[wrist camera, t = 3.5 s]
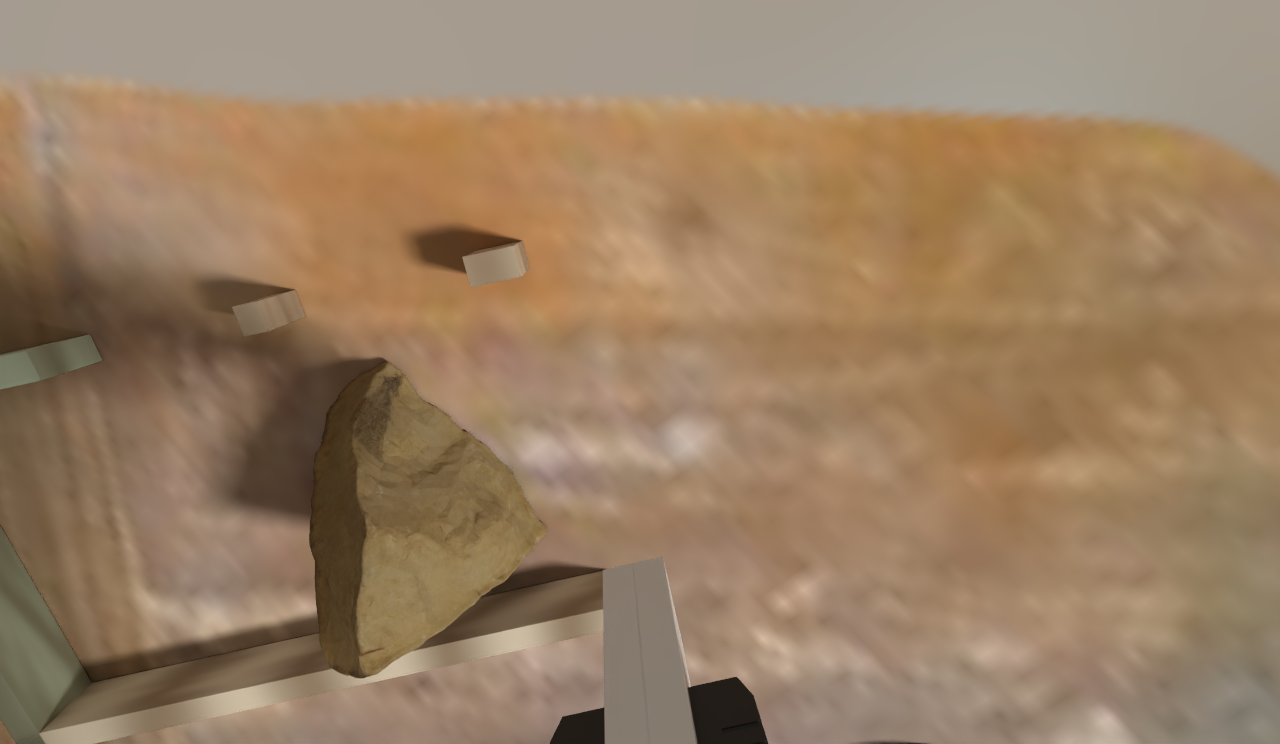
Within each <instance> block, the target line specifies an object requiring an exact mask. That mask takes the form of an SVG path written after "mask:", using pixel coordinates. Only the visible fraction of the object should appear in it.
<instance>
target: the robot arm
mask: <svg viewBox="0 0 1280 744" xmlns="http://www.w3.org/2000/svg"><path fill="white" fill-rule="evenodd" d="M603 635H604V708H600V709H596V710H591V711H587V712H582V713H578V714H573V715H569V716H564V717H562V719H561V721H560V723H559V725H558V727H557V729H556V731H555V733H554V735H553V737H552V740H551V742H550V744H768V741H767V738H766V735H765V731H764V728H763V725H762V722H761V719H760V715H759V712H758V709H757V706H756V702H755V699H754V696H753V695H752V693H751V692H750V691H749V690H748V689H747V688H746V687H745V686H744V684H743V683H742V682H741V681H740V680H739V679H738V678H737V677H733V678H729V679H724V680H720V681H715V682H711V683H706V684H702V685H697V686H692V687H691V686H690V680H689V675H688V670H687V664H686V659H685V654H684V648H683V644H682V639H681V635H680V630H679V626H678V622H677V617H676V613H675V608H674V604H673V599H672V595H671V591H670V586H669V582H668V577H667V573H666V568H665V564H664V560H663V557H660V558H655V559H651V560H646V561H642V562H637V563H633V564H628V565H623V566H619V567H614V568H610V569H605V570H603Z"/></svg>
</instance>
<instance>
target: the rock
mask: <svg viewBox="0 0 1280 744" xmlns="http://www.w3.org/2000/svg"><path fill="white" fill-rule="evenodd" d="M313 472H314V491H313V496H312V499H311V507H312V515H311V520H310V534H309V543H310V548H311V551H312V555H313V557H314V560H315V591H316V606H317V615H318V623H319V643H320V646H321V648H322V651H323V654H324V656H325V658H326V660H327V662H328V665H329V667H330V668H332V669H333V670H335V671H337V672H338V673H341V674H343V675H346V676H352V677H354V678H360V679H361V678H366V677H369V676H373V675H376V674H378V673H379V672H381V671H382V670H384V669H385V668H386V667H387V666H389V665H390V664H391V663H392V662H394V661H395V660H397V659H399V658H400V657H402V656H403V655H405V654H407V653H409V652H411V651H413V650H415V649H417V648H419V647H420V646H421V645H422V644H423V643H424V642H425V641H426V640H427V639H429V638H430V637H432V636H434V635H436V634H438V633H439V632H441V631H443V630H444V629H445V628H446V627H447V626H449V625H450V624H451V623H452V622H454V621H455V620H456V619H457V618H458V617H459V616H460V615H461V614H462V613H463V612H464V611H466V610H467V609H468V608H469V607H471V606H473V605H474V604H475V603H476V602H477V601H478V600H479V599H480V597H481V596H483V595H484V594H486V593H488V592H489V591H490V590H491V589H492V588H494V587H496V586H498V585H500V584H502V583H503V582H505V581H506V580H507V579H508V578H509V576H510V575H511V574H512V573H513V572H514V571H515V570H516V569H517V568H518V566H519V565H520V563H521V562H522V560H523V559H524V558H525V557H526V556H527V555H528V554H529V553H531V552H532V551H534V549H535V545H536V544H537V542H538V541H539V540H541V539H543V537H544V536H545V533H546V530H547V527H546V525H545V524H544V523H543V522H541V521H539V520H538V519H537V518H536V516H535V514H534V512H533V511H532V509H531V507H530V505H529V503H528V502H527V500H526V499H525V498H524V495H523V492H522V489H521V487H520V485H519V484H518V482H517V481H516V480H515V478H514V477H513V475H514V473H513V471H512V470H511V469H510V468H508V467H507V466H505V465H504V464H503V463H502V462H501V461H500V460H499V459H498V458H497V457H496V456H495V454H494V453H493V452H492V451H491V450H490V448H489V447H487V446H486V445H485V444H483V443H481V442H479V441H478V440H477V439H476V438H475V437H474V436H473V435H472V434H470V433H469V432H465V431H463V430H462V429H461V428H460V427H459V426H458V425H456V424H455V423H453V422H452V420H451V418H450V416H448V415H447V414H445V413H444V412H443V411H441V410H440V409H438V408H437V407H435V406H432V405H430V404H429V403H427V402H426V401H424V400H423V399H422V398H420V396H419V395H418V393H417V392H416V390H415V388H414V387H413V386H412V385H411V383H410V382H409V381H408V379H407V377H406V375H405V374H404V373H403V372H402V371H401V370H399V369H398V368H396V367H395V366H394V365H392V364H391V363H390V362H385V363H383V364H381V365H379V366H377V367H376V368H374V369H372V370H370V371H368V372H366V373H364V374H362V375H360V376H359V377H357V378H356V379H354V380H353V381H351V382H350V383H349V384H348V385H347V386H346V387H345V388H344V389H343V390H342V392H341V393H340V394H339V395H338V398H337V400H336V401H335V402H334V404H333V405H332V406H331V407H330V409H329V411H328V412H327V414H326V424H325V430H324V433H323V436H322V442H321V446H320V448H319V450H318V451H317V453H316V455H315V460H314V468H313Z"/></svg>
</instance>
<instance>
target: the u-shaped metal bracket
mask: <svg viewBox="0 0 1280 744" xmlns="http://www.w3.org/2000/svg"><path fill="white" fill-rule="evenodd" d="M462 258H463V262H464V265H465V269H466V272H467V276H468V279H469V283H470V286H471V287H476V286H480V285H485V284H490V283H494V282H499V281H504V280H508V279H513V278H517V277H521V276H522V275H523V274H524V273H525V272H526V271H527V270H528V269H529V268H530V267H529V263H528V259H527V256H526V252H525V248H524V244H523V241H519V242H515V243H510V244H505V245H501V246H496V247H492V248H487V249H482V250H478V251H475V252H473V253H470V254H468V255H466V256H463V257H462ZM232 309H233V311H234V314H235V316H236V319H237V321H238V324H239V326H240V328H241V331H242V333H243V336H244V337H245V336H250V335H254V334H259V333H264V332H268V331H271V330H274V329H276V328H279V327H281V326H284V325H286V324H289V323H291V322H294V321H296V320H299V319H301V318H304V317H305V314H304V312H303V309H302V306H301V304H300V301H299V298H298V296H297V293H296V290H293V291H288V292H283V293H279V294H274V295H270V296H267V297H264V298H260V299H257V300H253V301H250V302H246V303H243V304H240V305H236V306H233V307H232ZM100 361H103V360H102V358H101V356H100V354H99V352H98V350H97V348H96V346H95V344H94V342H93V340H92V338H91V336H90V334H89V335H85V336H80V337H75V338H71V339H66V340H62V341H57V342H52V343H48V344H43V345H38V346H34V347H29V348H25V349H20V350H15V351H11V352H6V353H1V354H0V389H5V388H10V387H14V386H19V385H23V384H28V383H33V382H37V381H42V380H45V379H48V378H51V377H54V376H57V375H60V374H63V373H66V372H69V371H73V370H76V369H79V368H82V367H85V366H88V365H91V364H94V363H97V362H100ZM599 632H603V571H599V572H595V573H590V574H586V575H581V576H577V577H572V578H567V579H563V580H558V581H554V582H549V583H545V584H540V585H536V586H531V587H526V588H522V589H517V590H513V591H508V592H504V593H499V594H495V595H490V596H485V597H481V598H480V599H479V600H478V601H477V602H476V603H475V604H474V605H473V606H471V607H469V608H468V609H467V610H466V611H464V612H463V613H462V614H461V615H460V616H459V617H458V618H457V619H456V620H455V621H454V622H452V623H451V624H450V625H449V626H447V627H446V628H445V629H444V630H443V631H441V632H439V633H438V634H436V635H434V636H432V637H430V638H429V639H427V640H426V641H425V642H424V643H423V644H422V645H421V646H420V647H419V648H417V649H415V650H413V651H411V652H409V653H407V654H405V655H403V656H402V657H400V658H399V659H397V660H395V661H394V662H392V663H391V664H390V665H389V666H387V667H386V668H385V669H384V670H382V671H381V672H379V673H378V674H376V675H373V676H369V677H366V678H361V679H360V678H354V677H352V676H346V675H343V674H341V673H338V672H337V671H335V670H333V669H332V668H330V667H329V665H328V662H327V660H326V658H325V656H324V654H323V651H322V648H321V646H320V643H319V633H317V634H312V635H308V636H303V637H299V638H294V639H290V640H285V641H281V642H276V643H271V644H267V645H262V646H258V647H253V648H249V649H244V650H240V651H235V652H230V653H226V654H221V655H217V656H212V657H208V658H203V659H199V660H194V661H189V662H185V663H180V664H176V665H171V666H167V667H162V668H158V669H153V670H148V671H144V672H139V673H135V674H130V675H126V676H121V677H117V678H112V679H107V680H103V681H98V682H94V683H92V682H91V681H90V679H89V677H88V676H87V674H86V672H85V670H84V669H83V667H82V665H81V663H80V662H79V660H78V658H77V657H76V655H75V653H74V651H73V650H72V648H71V646H70V645H69V643H68V641H67V639H66V638H65V636H64V634H63V633H62V631H61V629H60V627H59V626H58V624H57V622H56V621H55V619H54V617H53V615H52V614H51V612H50V610H49V609H48V607H47V605H46V603H45V602H44V600H43V598H42V597H41V595H40V593H39V591H38V590H37V588H36V586H35V585H34V583H33V581H32V579H31V578H30V576H29V574H28V573H27V571H26V569H25V567H24V566H23V564H22V562H21V561H20V559H19V557H18V555H17V554H16V552H15V550H14V549H13V547H12V545H11V543H10V542H9V540H8V538H7V537H6V535H5V533H4V531H3V530H2V528H1V526H0V719H1V721H2V722H3V724H4V725H5V727H6V728H7V730H8V731H9V733H10V735H11V736H12V738H13V739H14V741H15V742H16V744H95V743H99V742H104V741H109V740H113V739H118V738H122V737H127V736H131V735H136V734H140V733H145V732H149V731H154V730H159V729H163V728H168V727H172V726H177V725H181V724H186V723H190V722H195V721H199V720H204V719H208V718H213V717H218V716H222V715H227V714H231V713H236V712H240V711H245V710H249V709H254V708H258V707H263V706H268V705H272V704H277V703H281V702H286V701H290V700H295V699H299V698H304V697H308V696H313V695H317V694H322V693H327V692H331V691H336V690H340V689H345V688H349V687H354V686H358V685H363V684H367V683H372V682H377V681H381V680H386V679H390V678H395V677H399V676H404V675H408V674H413V673H417V672H422V671H426V670H431V669H436V668H440V667H445V666H449V665H454V664H458V663H463V662H467V661H472V660H476V659H481V658H485V657H490V656H495V655H499V654H504V653H508V652H513V651H517V650H522V649H526V648H531V647H535V646H540V645H545V644H549V643H554V642H558V641H563V640H567V639H572V638H576V637H581V636H585V635H590V634H594V633H599Z"/></svg>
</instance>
